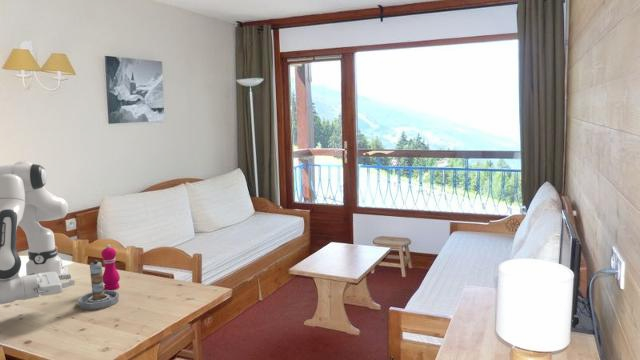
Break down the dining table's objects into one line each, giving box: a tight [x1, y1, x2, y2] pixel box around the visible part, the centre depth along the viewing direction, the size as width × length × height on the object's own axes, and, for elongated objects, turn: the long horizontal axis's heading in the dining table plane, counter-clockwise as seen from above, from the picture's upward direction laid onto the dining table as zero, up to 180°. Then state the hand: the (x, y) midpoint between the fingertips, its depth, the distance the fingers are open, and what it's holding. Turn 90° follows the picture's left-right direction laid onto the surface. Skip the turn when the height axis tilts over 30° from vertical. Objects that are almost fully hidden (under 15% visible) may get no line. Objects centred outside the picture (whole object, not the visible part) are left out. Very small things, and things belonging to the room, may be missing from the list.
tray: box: [77, 289, 120, 311], centre depth 209 cm, size 15×15×3 cm
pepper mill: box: [101, 244, 121, 291], centre depth 225 cm, size 7×7×20 cm
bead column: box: [89, 259, 105, 300], centre depth 208 cm, size 4×4×17 cm
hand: (72, 279), depth 203 cm, fingers open, 8 cm apart
